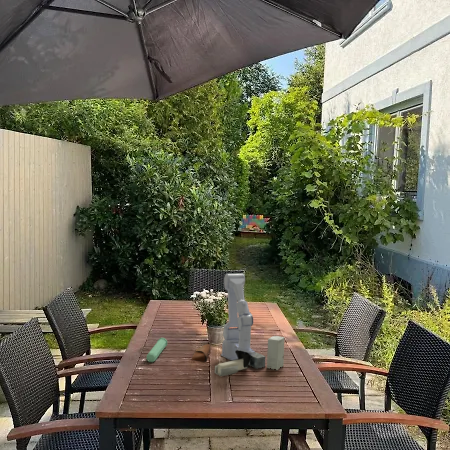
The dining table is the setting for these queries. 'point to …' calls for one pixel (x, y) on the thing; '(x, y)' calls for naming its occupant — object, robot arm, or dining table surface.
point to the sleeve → (226, 370)
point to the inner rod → (232, 364)
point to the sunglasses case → (201, 353)
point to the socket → (257, 361)
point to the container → (156, 349)
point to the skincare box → (275, 352)
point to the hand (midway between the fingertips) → (243, 366)
